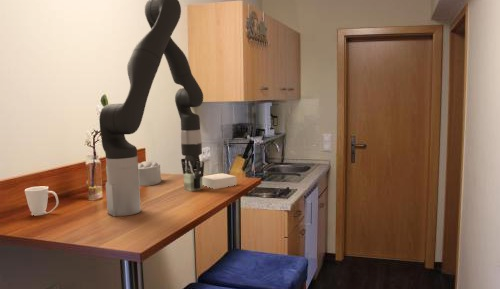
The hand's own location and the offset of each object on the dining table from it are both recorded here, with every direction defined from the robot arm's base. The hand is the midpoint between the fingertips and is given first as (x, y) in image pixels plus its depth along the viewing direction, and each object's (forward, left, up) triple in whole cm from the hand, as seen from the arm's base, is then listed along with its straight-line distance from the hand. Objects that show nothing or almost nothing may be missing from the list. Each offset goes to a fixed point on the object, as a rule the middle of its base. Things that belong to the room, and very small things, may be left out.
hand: (193, 187), depth 168 cm
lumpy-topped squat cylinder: (-8, +26, -1) cm, 27 cm away
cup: (-52, +2, -1) cm, 52 cm away
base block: (+11, 0, -1) cm, 11 cm away
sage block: (0, 0, -1) cm, 1 cm away
